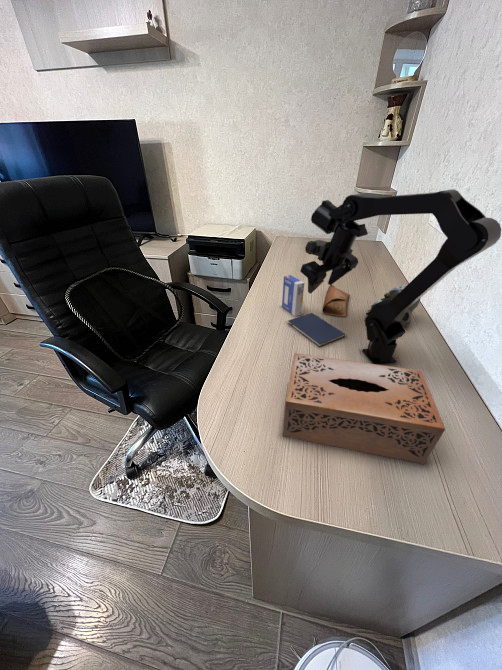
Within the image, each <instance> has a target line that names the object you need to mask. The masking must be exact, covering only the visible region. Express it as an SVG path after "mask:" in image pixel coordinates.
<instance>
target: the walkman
mask: <svg viewBox="0 0 502 670" xmlns="http://www.w3.org/2000/svg"><path fill="white" fill-rule="evenodd" d="M282 286H283V287H282V300H281V301H282V302H281V307H282V308H283V309H284V310H285V311H287V312H288V313H289V314H291V315H293V316H294V317H298V316H302V312H303V303H304V291H305V281H302V280H300V279H299V278H297V277H295V276H294V275H292V274H287V275H284V276H283V282H282Z"/></svg>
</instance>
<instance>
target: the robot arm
mask: <svg viewBox="0 0 502 670" xmlns="http://www.w3.org/2000/svg"><path fill="white" fill-rule="evenodd" d="M423 214H424V215H428V214H432V215H433V217H435V219H436V221H437V223H438V226H439V228H440V230H441V233H443V234H444V236H445V237H446V239H445V240H444V242H443V244H441V246H440V248H439V250H438V253H437V255H436V256H435V258H434V259H433V260H432V261H431V262H430V263H428V264H427V266H425V267H424V268H423V269H422V271H420V272H419V273H418V274H417V275H415V277H414V278H413V279H412V280H411V281H410V282H409V283H408V284H406V285H407V286H406V287H405V288H404V289H403V290H402V291H401V292H400V293H399V294H397V295H396V296H395V297H394V298H393V299H392V300H391V299H390V298H387V299H385V300H383V301H381V302H379V303H377V304H375V306H374V307H373V308H372V310H371V311H370V312H368V311H367V312H366V313H365V315H367V316H366V317H365V318H364V325H365V331H366V340H367V341H368V345H367V348H363V349H362V350H361V352H362V353H363V354H364V355H365V357H366V358H367V359H368V361H370V363H371V364H377V365H387V364H395V363H396V362H397V360H396V358H395V357H394V354H395V351H396V348H397V346H398V343H397V340H398V339H399V338H401V337H403V336H404V335H405V334H406V333H407V331H406V329H405V327H404V326H403V325H402V323H401V319H402V318H403V317H404V315H405V313H406V311H407V309H408V308H409V307H411V306H412V305H413V304H414V303H415V302H416V301H418V300H419V299H420V298H421V299H422V297H423V296H425V295H426V294H427V293H428V292H430V291H431V289H433V288H434V287H435V286H436V285H438V284H439V283H440V282H441V281H442V280H443V279H444V278H446V277H447V276H448V275H449V274H450V273H452V272H453V271H454V270H455V269H456V268H457V267H459V266H461V265H463V264H464V263H466V262H468V261H469V260H471V259H472V258H474V257H476V256H478V255H479V254H480V253H483V252H485V251H486V250H488V249H489V248H490V247H492V246H494V245H495V244H497V242H498V241H499V240H500V239H501V237H502V227H501V224H500V223H499V221H498V220H497V219H494V218H493V217H487V216H486V215H485V214H484V213H483V211H481V210H480V209H479V208H477V207H476V206H475V205H473V204H472V203H470V202H469V201H468V200H466V199H465V197H464V196H463V195H462V194H461V193H460V192H459V191H458V190H456V189H454V188H453V189H452V188H451V189H450V188H449V189H444V190H439V191H434V192H433V191H432V192H421V193H409V194H397V195H385V194H381V193H374V192H363V193H355V194H350V195H347V196H346V197H344V200H343V201H342V204H340V205H338V206H336V205H335V204H333V203H332V201H331V200H329V199H325V200H322V201H321V204H320V205H318V206H317V207H316V209H315V210H314V211H313V213H312V214H311V218H310V221H311V223H312V224H313V225H314V226H315V227H317V228H318V229H319V230H321V231H322V232H323V233H325V234H326V235H330V234H332V236H331V239H330V240H329V241H326V240H321V239H316V240H309V241H307V243H306V245H305V247H304V248H305V250H304V251H305V253H306V254H308V255H313V256H316V257H317V260H319V261H320V262H321V261H322V262H321V263H322V264H319V263H318V262H316V261H315V260H312V261H309V262H306V263H302V265H301V268H300V270H299V271H300V273H301V274H302V275H303V276H305V278H307V293H308V294H312V293H313V292H315V291H316V290H317V289H318V288H319V287H320V286H321V285H322V284H323V283H324V282H325V279H326V278H327V273H328V272H330V276H329V278H328V281H327V284H328V285H329V286H331V285H334V284H335V283H336V282H337V281H339V280H340V279H342V278H343V277H344V276H346V275H347V274H348V273H349V272H351V271H353V269H356V268H357V266H358V264H359V259H358V257H356V256H355V255H354V254H353V252H354V250H353V249H352V247H353V245H354V244H355V241H356V239H357V238H360V237H361V238H362V237H364V236H368V234H369V232H368V229H367V228H366V224H365V223H361V224H360V223H358V222H356V221H360V220H361V221H362V220H366V219H369V218H374V217H378V216H396V215H397V216H398V215H423ZM421 299H420V300H421Z"/></svg>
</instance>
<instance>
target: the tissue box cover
mask: <svg viewBox="0 0 502 670" xmlns="http://www.w3.org/2000/svg"><path fill="white" fill-rule="evenodd" d="M445 431H446V427H445V425H444V422H443V419H442V417H441V415H440V413H439V410H438V407H437V405H436V402H435V400H434V397H433V394H432V393H431V389H430V388H429V385H428V382H427V380H426V377H425V375H424V372H423V370H420V369H411V368H405V367H399V366H391V365H385V364H381V365H377V364H373V363H371V362H370V363H369V362H362V361H354V360H347V359H340V358H334V357H333V358H332V357H326V356H319V355H311V354H304V353H298V352H297V353H296V352H294V353H293V358H292V365H291V370H290V376H289V381H288V387H287V392H286V398H285V405H284V416H283V425H282V437H285V438H286V437H287V438H291V439H296V440H302V441H306V442H311V443H315V444H322V445H325V446H330V447H335V448H339V449H346V450H349V451H350V450H351V451H356V452H360V453H366V454H369V455H370V454H371V455H375V456H381V457H387V458H390V459H397V460H400V461H405V462H410V463H414V464H415V463H416V464H420V465H425V463H426V462H427V460H428V459H429V456H430V455H431V454H432V452H433V451H434V450H435V447H436V445H437V444H438V442H439V440H440V439H441V437H442V436H443V434H444V432H445Z"/></svg>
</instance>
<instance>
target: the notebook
mask: <svg viewBox="0 0 502 670" xmlns="http://www.w3.org/2000/svg"><path fill="white" fill-rule="evenodd" d="M287 321H288V323H287V324H288V326H290V327H291V328H293V329H294V330H295V331H297V332H298V333H300V334H301V335H302V336H304V337H305V338H306V339H308V340H309V341H310V342H311V343H313V344H315V345H316V347H319V348H321V347H323V346H326V345H329V344H331V343H333V342H335V341H338V340H340V339H343V338H345V335H346V333H345V332H343V331H342V330H340V329H338V327H335V326H334V325H332V324H331V323H329V322H328V321H326V320H324V319H323V318H321V317H320V316H318V315H316V314H315V313H313V312H309V313H306V314H304V315H299V316H296V317H295V318H291V319H289V320H287Z"/></svg>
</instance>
